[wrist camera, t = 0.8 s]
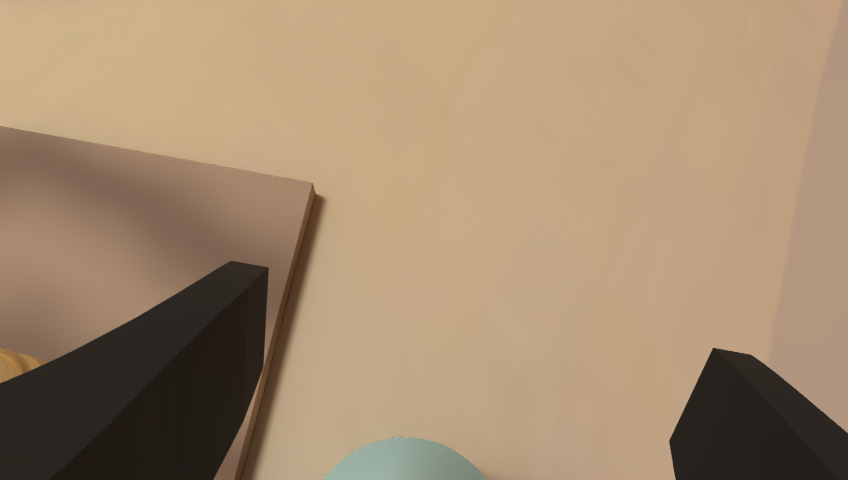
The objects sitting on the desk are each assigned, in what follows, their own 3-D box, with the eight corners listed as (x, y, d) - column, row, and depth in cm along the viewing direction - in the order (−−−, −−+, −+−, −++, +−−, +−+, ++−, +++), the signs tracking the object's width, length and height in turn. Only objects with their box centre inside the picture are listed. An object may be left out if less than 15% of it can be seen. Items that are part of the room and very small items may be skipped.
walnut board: (164, 768, 20) (153, 783, 19) (-267, 681, 20) (-299, 691, 19) (315, 193, 27) (312, 182, 26) (-9, 134, 27) (-23, 121, 26)
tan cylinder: (72, 441, 22) (-12, 434, 18) (4, 428, 22) (-96, 418, 18) (96, 372, 23) (23, 348, 18) (31, 360, 23) (-58, 333, 18)
